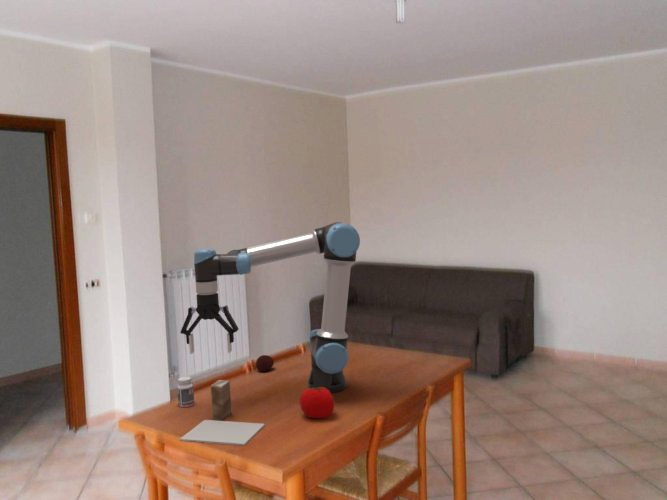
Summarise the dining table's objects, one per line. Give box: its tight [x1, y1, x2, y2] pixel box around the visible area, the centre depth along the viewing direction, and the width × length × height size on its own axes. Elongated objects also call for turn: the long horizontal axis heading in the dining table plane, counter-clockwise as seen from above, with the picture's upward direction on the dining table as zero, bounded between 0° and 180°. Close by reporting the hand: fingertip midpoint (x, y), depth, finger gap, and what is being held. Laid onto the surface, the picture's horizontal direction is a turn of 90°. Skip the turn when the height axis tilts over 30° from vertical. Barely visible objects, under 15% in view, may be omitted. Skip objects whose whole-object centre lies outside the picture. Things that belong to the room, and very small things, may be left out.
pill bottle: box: [176, 376, 195, 408], centre depth 216 cm, size 6×6×10 cm
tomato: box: [299, 387, 335, 419], centre depth 199 cm, size 11×13×10 cm
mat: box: [179, 419, 266, 447], centre depth 188 cm, size 22×16×1 cm
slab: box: [210, 379, 233, 421], centre depth 202 cm, size 4×6×12 cm, turn 164°
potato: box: [255, 354, 275, 372], centre depth 256 cm, size 7×8×7 cm
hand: (210, 352), depth 208 cm, fingers open, 13 cm apart
